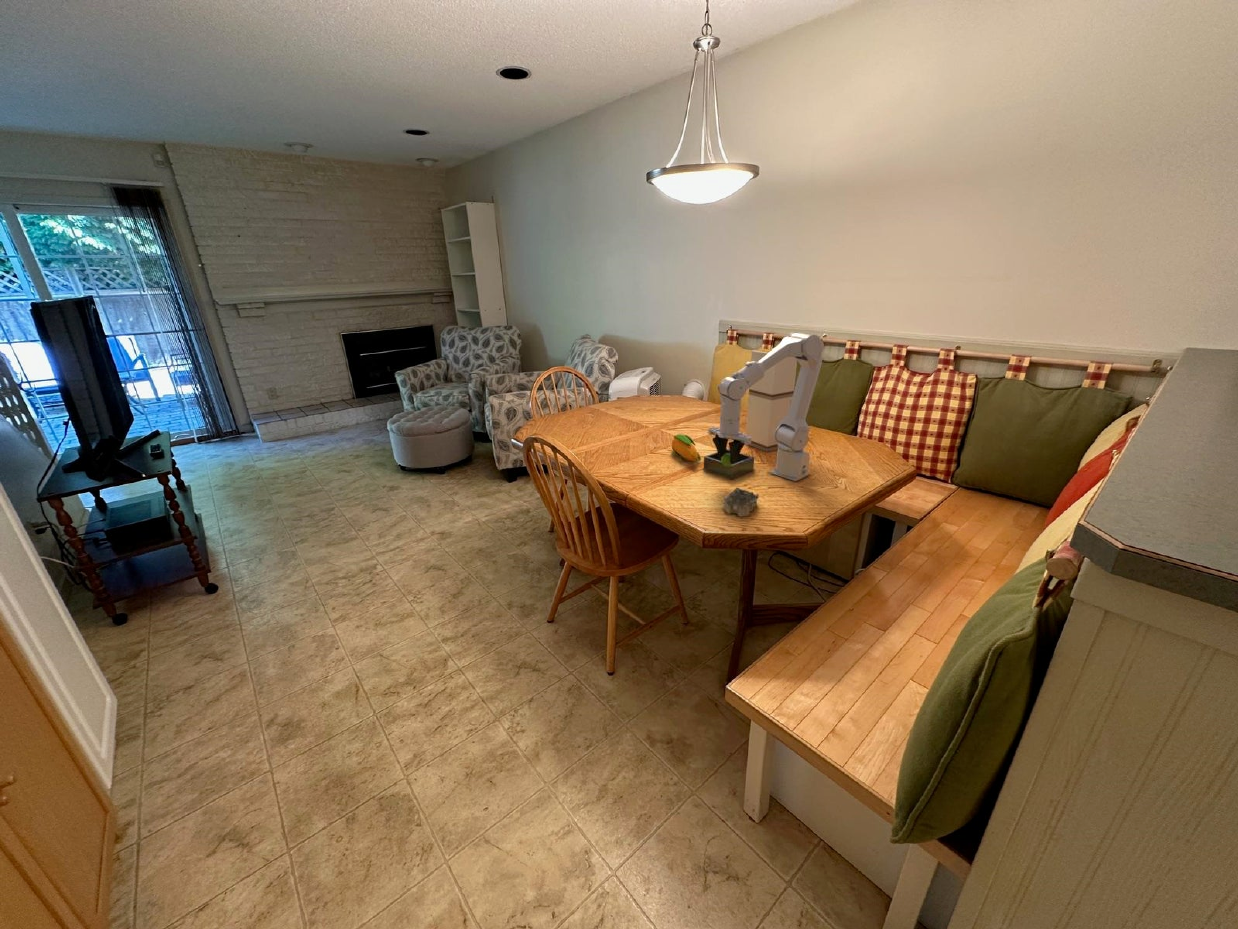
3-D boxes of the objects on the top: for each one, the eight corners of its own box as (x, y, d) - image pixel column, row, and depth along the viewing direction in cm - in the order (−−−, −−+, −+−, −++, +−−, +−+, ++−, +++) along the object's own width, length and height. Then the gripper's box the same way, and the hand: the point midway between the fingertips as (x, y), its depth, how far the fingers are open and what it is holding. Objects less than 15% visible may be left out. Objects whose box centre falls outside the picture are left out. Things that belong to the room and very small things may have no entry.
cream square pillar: (787, 446, 179) (798, 351, 166) (766, 451, 174) (775, 354, 161) (765, 438, 188) (773, 348, 175) (744, 443, 183) (751, 350, 170)
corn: (685, 428, 177) (707, 445, 159) (686, 447, 180) (708, 466, 162) (667, 431, 176) (686, 448, 158) (668, 450, 179) (687, 470, 161)
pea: (736, 465, 146) (737, 453, 145) (728, 469, 144) (729, 456, 142) (726, 462, 149) (727, 450, 148) (718, 465, 147) (718, 453, 145)
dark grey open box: (753, 469, 158) (754, 457, 157) (731, 479, 152) (732, 465, 150) (725, 460, 167) (726, 448, 165) (703, 469, 160) (704, 456, 158)
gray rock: (745, 519, 127) (746, 505, 125) (719, 511, 131) (720, 498, 130) (760, 504, 135) (762, 490, 133) (735, 497, 139) (736, 484, 137)
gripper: (702, 416, 144) (700, 458, 149) (741, 426, 133) (738, 471, 138) (717, 411, 148) (715, 452, 153) (757, 421, 138) (753, 464, 143)
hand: (727, 461), depth 146 cm, fingers closed on pea, 4 cm apart
